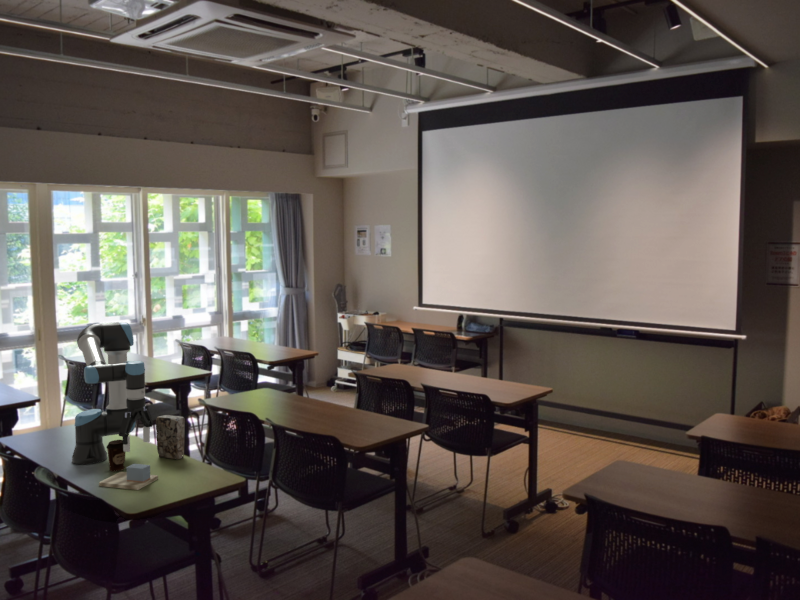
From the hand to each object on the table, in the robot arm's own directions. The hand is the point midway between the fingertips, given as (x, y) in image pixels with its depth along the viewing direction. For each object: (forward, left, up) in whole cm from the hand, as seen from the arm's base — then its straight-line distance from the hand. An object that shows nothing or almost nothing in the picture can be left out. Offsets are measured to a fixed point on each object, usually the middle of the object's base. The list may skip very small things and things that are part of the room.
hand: (136, 446), depth 287 cm
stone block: (-7, +35, -16) cm, 39 cm away
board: (-4, 0, -16) cm, 16 cm away
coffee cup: (-20, +13, -16) cm, 28 cm away
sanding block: (+1, 0, -14) cm, 14 cm away
